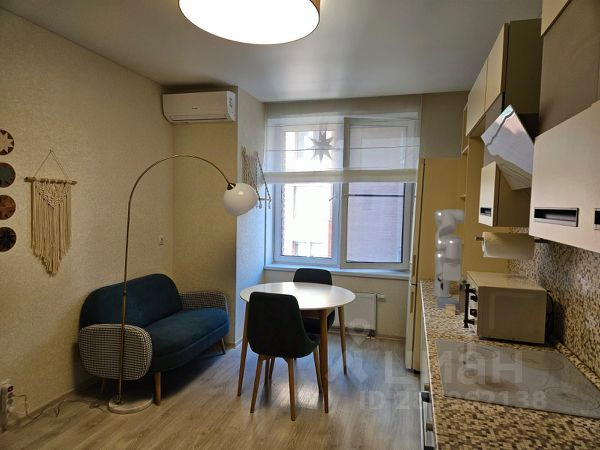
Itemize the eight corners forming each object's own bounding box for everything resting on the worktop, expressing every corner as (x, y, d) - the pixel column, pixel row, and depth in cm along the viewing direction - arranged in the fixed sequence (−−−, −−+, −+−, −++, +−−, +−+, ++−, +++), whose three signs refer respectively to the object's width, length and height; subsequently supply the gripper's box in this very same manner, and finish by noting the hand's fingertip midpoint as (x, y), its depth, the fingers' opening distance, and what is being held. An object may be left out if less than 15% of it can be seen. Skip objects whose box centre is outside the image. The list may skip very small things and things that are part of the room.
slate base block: (436, 303, 237) (437, 297, 237) (457, 305, 234) (457, 299, 233) (438, 308, 226) (438, 302, 226) (459, 310, 222) (459, 304, 222)
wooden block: (474, 311, 220) (476, 281, 219) (476, 313, 215) (477, 283, 214) (458, 310, 222) (459, 280, 221) (459, 312, 218) (460, 282, 217)
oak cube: (445, 312, 218) (445, 303, 217) (454, 313, 216) (454, 304, 216) (445, 314, 213) (446, 306, 213) (455, 315, 211) (455, 307, 211)
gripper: (467, 261, 213) (466, 290, 214) (435, 259, 219) (434, 287, 219) (469, 262, 206) (468, 293, 207) (436, 260, 211) (435, 290, 212)
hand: (451, 290), depth 213 cm, fingers open, 9 cm apart
